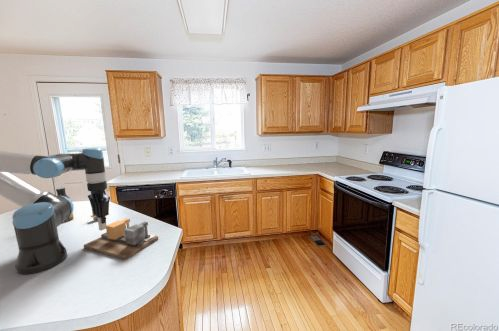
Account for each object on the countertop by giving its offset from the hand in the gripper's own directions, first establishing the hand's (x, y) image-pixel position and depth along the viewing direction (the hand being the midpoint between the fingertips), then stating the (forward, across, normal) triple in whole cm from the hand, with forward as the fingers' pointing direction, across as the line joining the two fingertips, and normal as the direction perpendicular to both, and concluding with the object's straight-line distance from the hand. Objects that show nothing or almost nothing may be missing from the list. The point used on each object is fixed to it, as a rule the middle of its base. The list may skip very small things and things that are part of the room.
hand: (102, 229), depth 106 cm
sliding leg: (+2, -9, -2) cm, 10 cm away
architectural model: (+6, +28, -15) cm, 32 cm away
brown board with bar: (+5, -12, 0) cm, 13 cm away
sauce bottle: (+6, +45, -7) cm, 46 cm away
